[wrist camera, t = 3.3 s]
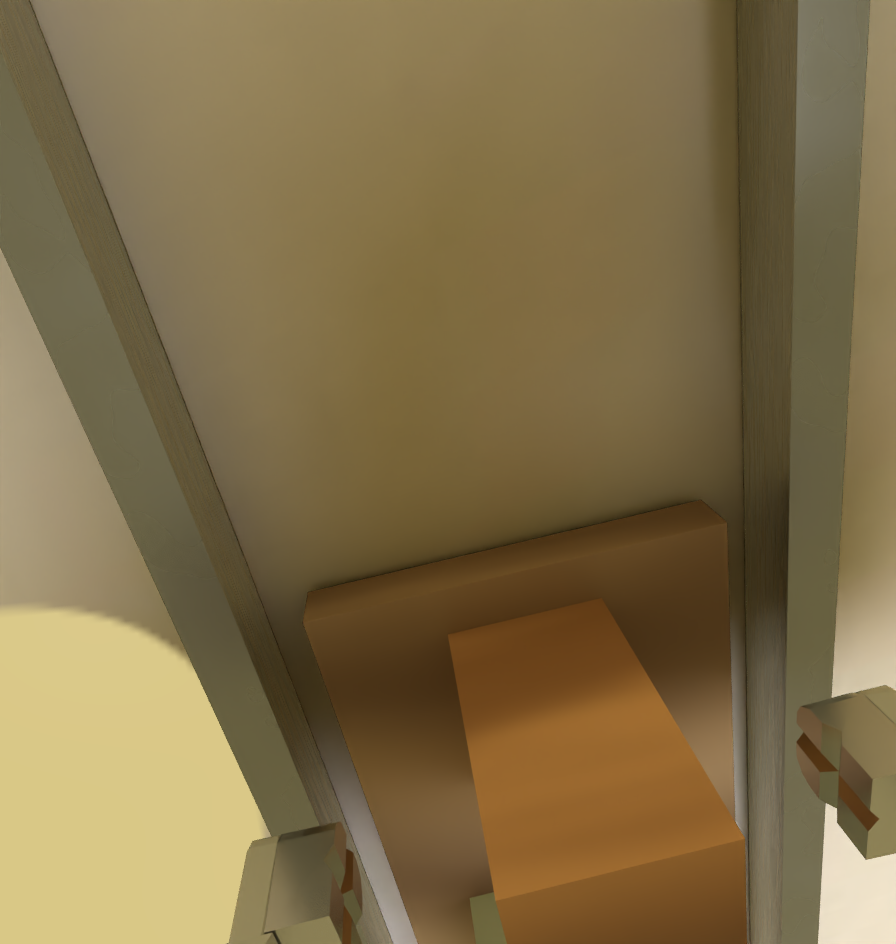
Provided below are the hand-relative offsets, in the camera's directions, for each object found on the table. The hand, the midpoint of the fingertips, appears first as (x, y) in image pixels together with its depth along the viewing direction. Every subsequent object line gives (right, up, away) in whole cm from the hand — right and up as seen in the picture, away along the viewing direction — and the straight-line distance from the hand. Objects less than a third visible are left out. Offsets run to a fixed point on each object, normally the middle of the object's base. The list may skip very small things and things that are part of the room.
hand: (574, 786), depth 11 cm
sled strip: (0, -3, +5) cm, 6 cm away
